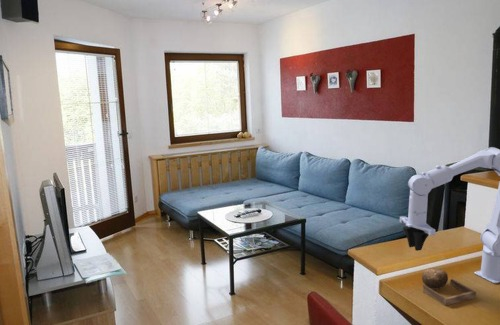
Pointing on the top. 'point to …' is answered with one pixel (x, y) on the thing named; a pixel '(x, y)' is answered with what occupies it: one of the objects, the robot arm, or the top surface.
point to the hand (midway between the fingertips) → (415, 248)
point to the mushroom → (435, 278)
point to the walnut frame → (466, 295)
